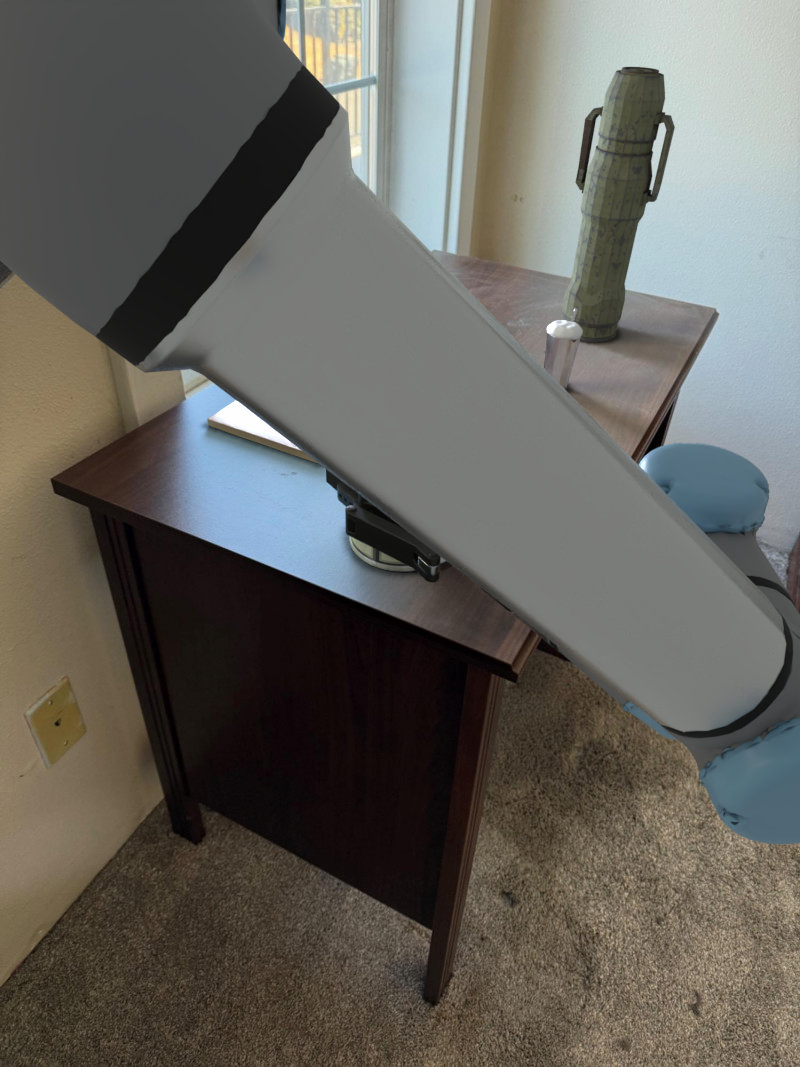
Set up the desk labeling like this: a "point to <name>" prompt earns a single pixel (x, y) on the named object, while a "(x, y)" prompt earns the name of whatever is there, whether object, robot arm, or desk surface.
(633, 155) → the thermos
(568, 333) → the milkshake
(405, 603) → the desk surface
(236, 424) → the cork mat
